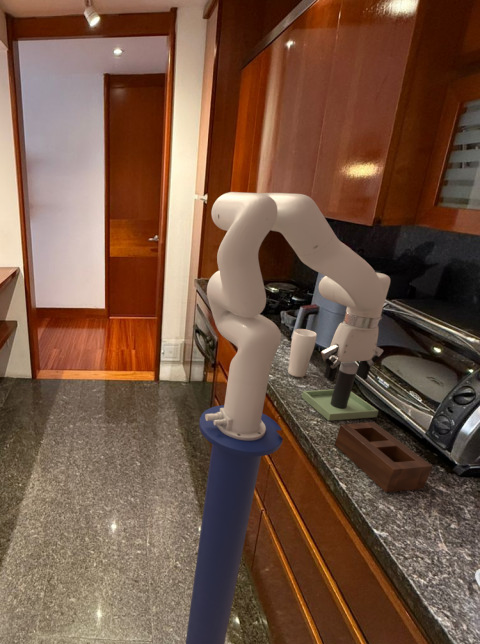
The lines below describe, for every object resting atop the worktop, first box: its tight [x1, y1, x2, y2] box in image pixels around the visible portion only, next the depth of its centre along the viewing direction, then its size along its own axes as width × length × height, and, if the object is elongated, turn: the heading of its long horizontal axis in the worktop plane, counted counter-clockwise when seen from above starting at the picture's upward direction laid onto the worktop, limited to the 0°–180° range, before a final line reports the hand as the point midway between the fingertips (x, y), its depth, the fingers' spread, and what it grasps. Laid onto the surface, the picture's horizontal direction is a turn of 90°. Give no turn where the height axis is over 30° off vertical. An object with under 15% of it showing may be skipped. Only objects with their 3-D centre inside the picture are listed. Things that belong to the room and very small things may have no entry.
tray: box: [301, 388, 379, 422], centre depth 110 cm, size 14×12×2 cm
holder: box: [334, 421, 433, 493], centre depth 87 cm, size 9×16×6 cm, turn 7°
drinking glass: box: [287, 328, 318, 378], centre depth 126 cm, size 7×7×15 cm
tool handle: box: [330, 361, 359, 409], centre depth 108 cm, size 4×4×13 cm
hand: (345, 378), depth 107 cm, fingers open, 9 cm apart
